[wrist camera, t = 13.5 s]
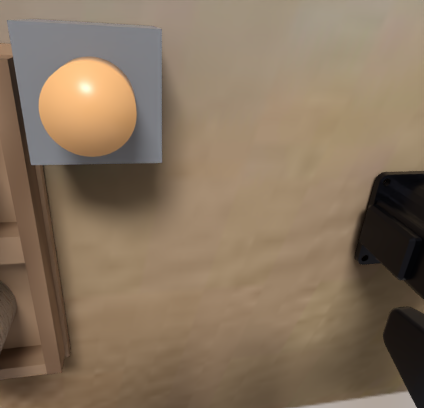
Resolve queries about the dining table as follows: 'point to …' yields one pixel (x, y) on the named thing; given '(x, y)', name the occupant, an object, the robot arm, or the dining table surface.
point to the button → (88, 107)
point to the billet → (6, 311)
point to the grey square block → (95, 47)
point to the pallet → (27, 247)
